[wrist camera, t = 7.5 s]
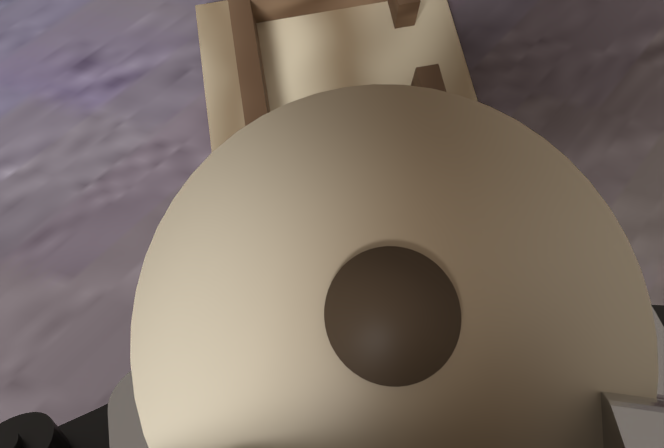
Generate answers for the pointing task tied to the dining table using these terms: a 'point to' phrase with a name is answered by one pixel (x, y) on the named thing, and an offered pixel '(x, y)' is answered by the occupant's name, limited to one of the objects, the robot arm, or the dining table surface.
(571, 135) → the dining table surface
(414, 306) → the bobbin
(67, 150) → the dining table surface
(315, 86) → the board
